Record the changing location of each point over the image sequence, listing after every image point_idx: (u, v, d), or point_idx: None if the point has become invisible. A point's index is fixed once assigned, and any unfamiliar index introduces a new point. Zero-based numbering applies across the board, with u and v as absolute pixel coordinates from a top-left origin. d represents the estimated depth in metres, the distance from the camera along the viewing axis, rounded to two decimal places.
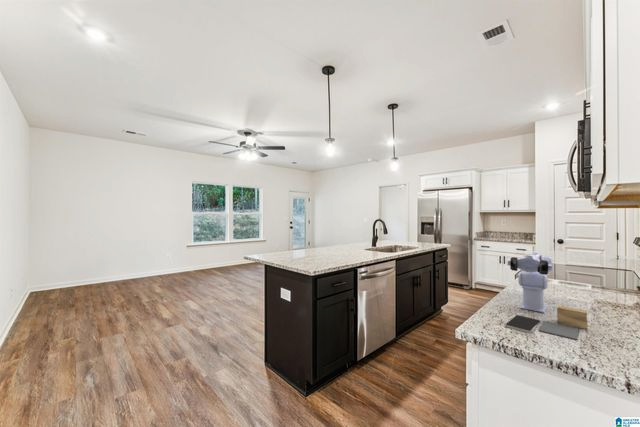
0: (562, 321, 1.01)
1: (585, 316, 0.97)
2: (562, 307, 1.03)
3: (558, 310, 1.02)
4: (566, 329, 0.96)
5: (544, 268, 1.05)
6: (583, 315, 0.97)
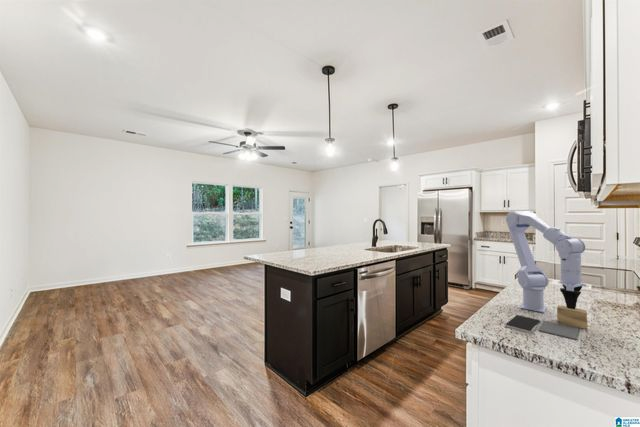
0: (562, 321, 1.01)
1: (585, 316, 0.97)
2: (562, 307, 1.03)
3: (558, 310, 1.02)
4: (566, 329, 0.96)
5: None
6: (583, 315, 0.97)
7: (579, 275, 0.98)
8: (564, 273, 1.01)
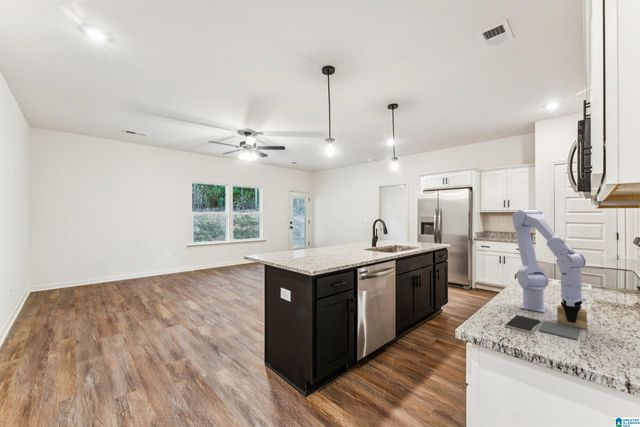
0: (562, 321, 1.02)
1: (585, 316, 0.97)
2: (562, 307, 1.03)
3: (558, 310, 1.02)
4: (566, 329, 0.96)
5: None
6: (583, 314, 0.97)
7: (579, 290, 0.98)
8: (564, 288, 1.01)
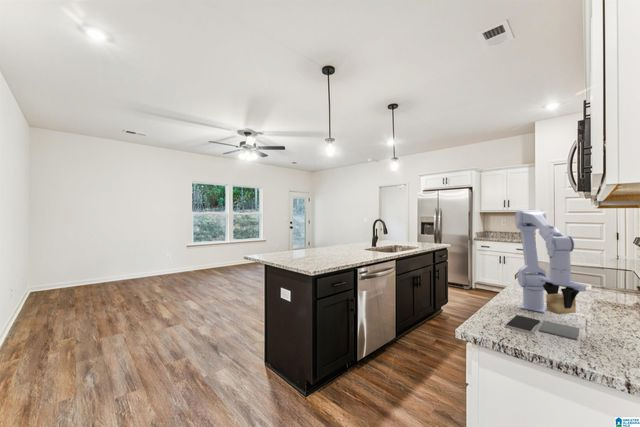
0: (561, 311, 0.95)
1: None
2: (556, 296, 0.96)
3: (558, 300, 0.94)
4: (566, 329, 0.96)
5: None
6: None
7: None
8: (563, 273, 0.95)
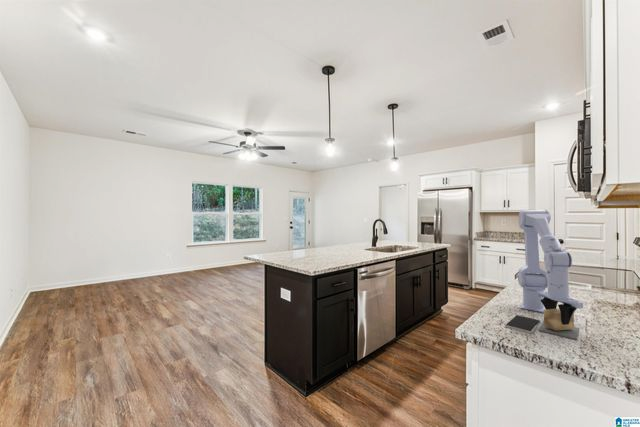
0: (558, 327, 0.94)
1: (573, 316, 0.95)
2: (553, 311, 0.95)
3: (555, 316, 0.94)
4: None
5: None
6: (572, 315, 0.95)
7: None
8: (560, 289, 0.94)
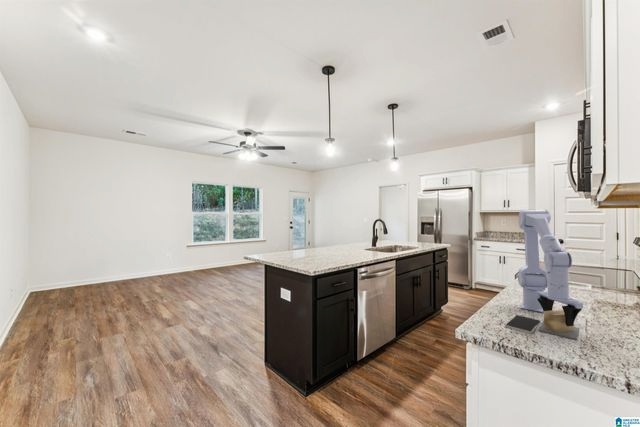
0: (558, 329, 0.94)
1: None
2: (553, 313, 0.95)
3: (555, 318, 0.94)
4: None
5: None
6: None
7: None
8: (560, 289, 0.94)
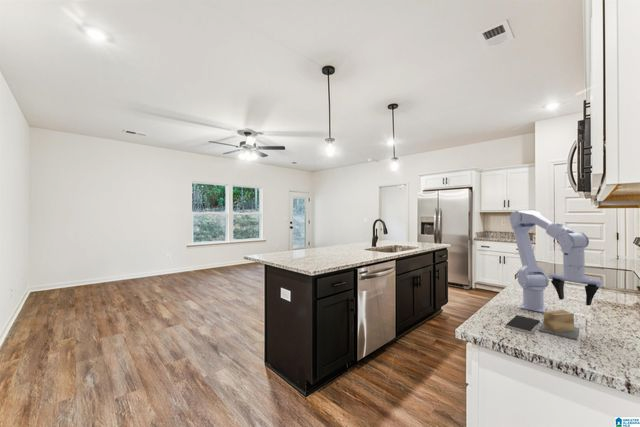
0: (558, 329, 0.94)
1: (573, 317, 0.95)
2: (553, 313, 0.95)
3: (555, 318, 0.94)
4: None
5: None
6: (572, 316, 0.95)
7: None
8: (580, 269, 0.96)
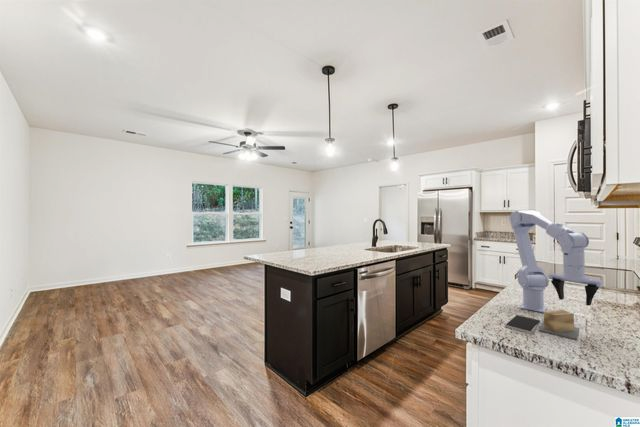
0: (558, 329, 0.94)
1: (573, 317, 0.95)
2: (553, 313, 0.95)
3: (555, 318, 0.94)
4: None
5: None
6: (572, 316, 0.95)
7: None
8: (580, 269, 0.96)
